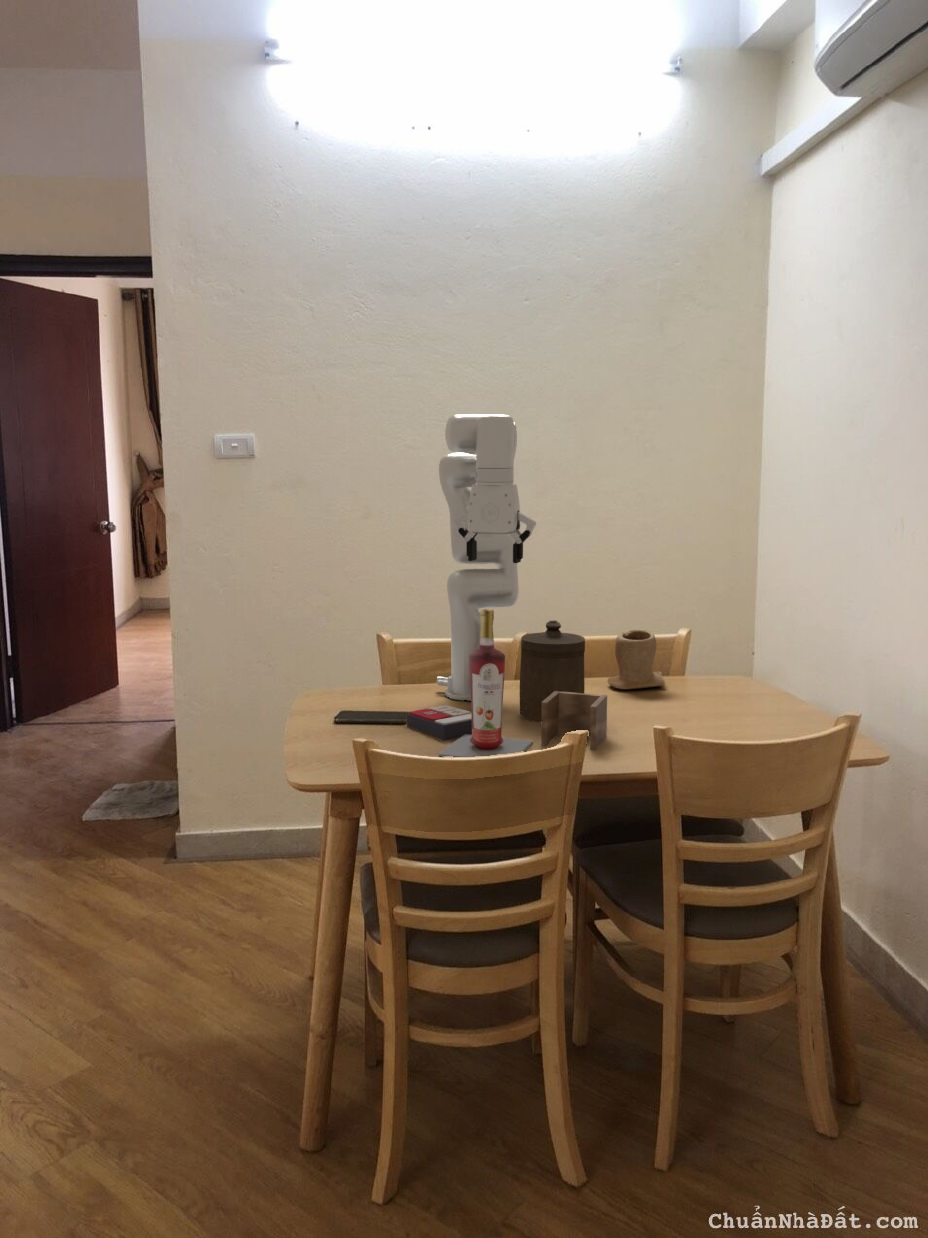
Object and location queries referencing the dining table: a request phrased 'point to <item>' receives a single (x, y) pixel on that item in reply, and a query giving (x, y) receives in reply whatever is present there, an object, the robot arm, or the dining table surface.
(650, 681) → the stone cup
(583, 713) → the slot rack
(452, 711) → the navy red white box
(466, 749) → the slate mat
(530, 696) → the wooden container
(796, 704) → the dining table surface
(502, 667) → the liquor
